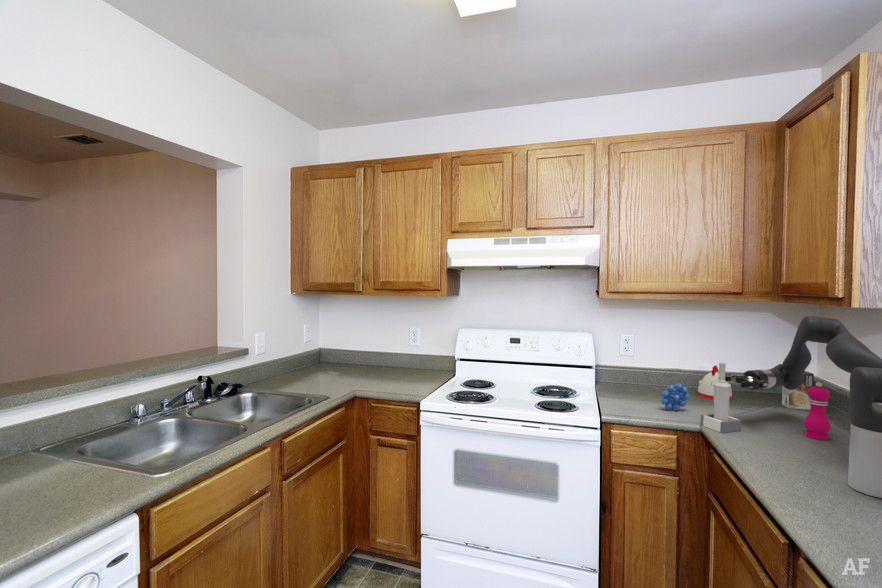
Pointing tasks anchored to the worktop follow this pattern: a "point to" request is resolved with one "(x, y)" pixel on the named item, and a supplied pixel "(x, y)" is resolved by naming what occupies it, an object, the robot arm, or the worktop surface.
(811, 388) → the pepper mill
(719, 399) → the bottle
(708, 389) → the kitchen timer
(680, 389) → the blue bumpy cluster
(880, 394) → the robot arm
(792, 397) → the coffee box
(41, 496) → the worktop surface
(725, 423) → the socket collar
